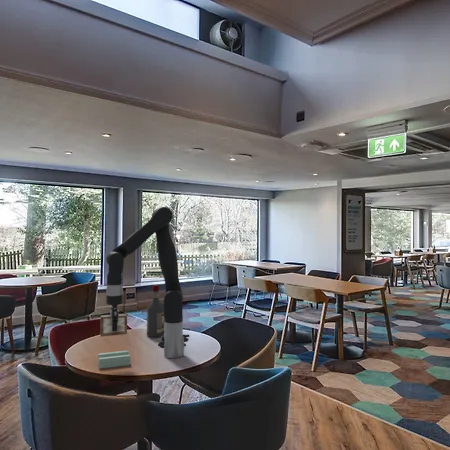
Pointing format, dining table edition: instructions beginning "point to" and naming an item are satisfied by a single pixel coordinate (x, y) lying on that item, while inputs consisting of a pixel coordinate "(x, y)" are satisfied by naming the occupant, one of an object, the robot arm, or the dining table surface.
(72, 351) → the dining table surface
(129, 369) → the dining table surface
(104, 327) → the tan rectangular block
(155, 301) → the liquor
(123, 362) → the picture ledge
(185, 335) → the figurine
